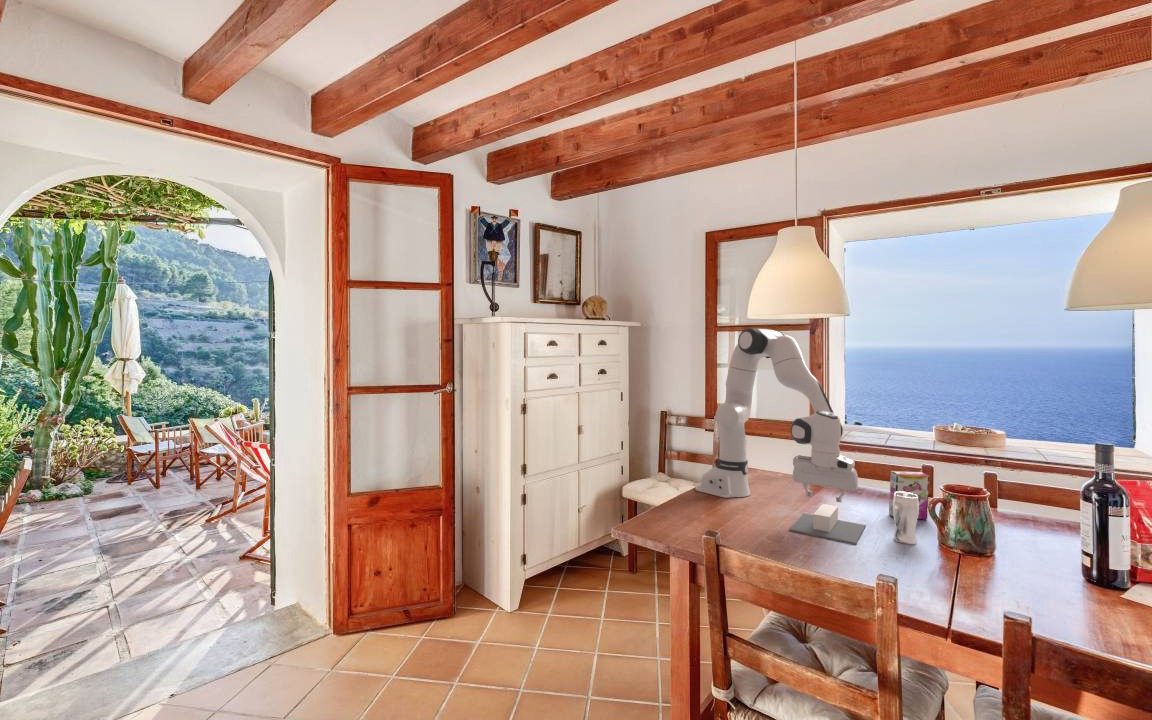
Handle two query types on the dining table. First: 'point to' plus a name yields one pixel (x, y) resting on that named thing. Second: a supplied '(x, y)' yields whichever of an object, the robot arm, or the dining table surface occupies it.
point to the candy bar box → (910, 489)
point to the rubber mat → (839, 531)
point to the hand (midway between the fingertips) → (823, 498)
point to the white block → (825, 517)
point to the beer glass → (905, 517)
